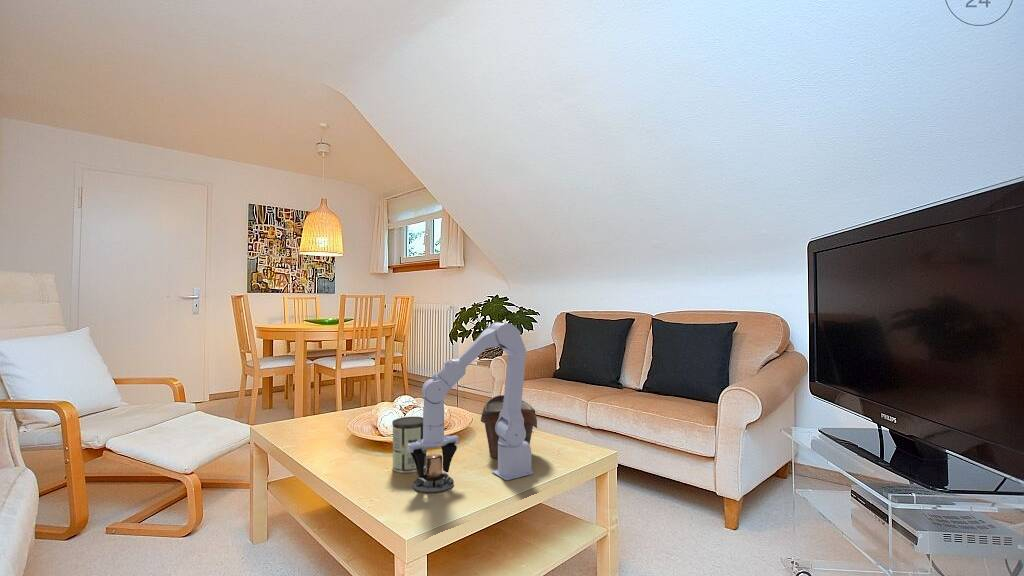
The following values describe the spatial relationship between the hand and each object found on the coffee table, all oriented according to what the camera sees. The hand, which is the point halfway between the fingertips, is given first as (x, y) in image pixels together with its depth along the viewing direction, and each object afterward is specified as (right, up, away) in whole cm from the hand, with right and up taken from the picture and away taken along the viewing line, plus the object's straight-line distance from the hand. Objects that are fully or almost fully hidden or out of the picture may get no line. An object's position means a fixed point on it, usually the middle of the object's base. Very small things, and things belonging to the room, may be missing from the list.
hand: (433, 474), depth 129 cm
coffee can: (-10, -4, +14) cm, 17 cm away
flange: (0, -3, 0) cm, 3 cm away
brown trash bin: (+21, -4, +26) cm, 34 cm away
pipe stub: (0, -2, 0) cm, 2 cm away
